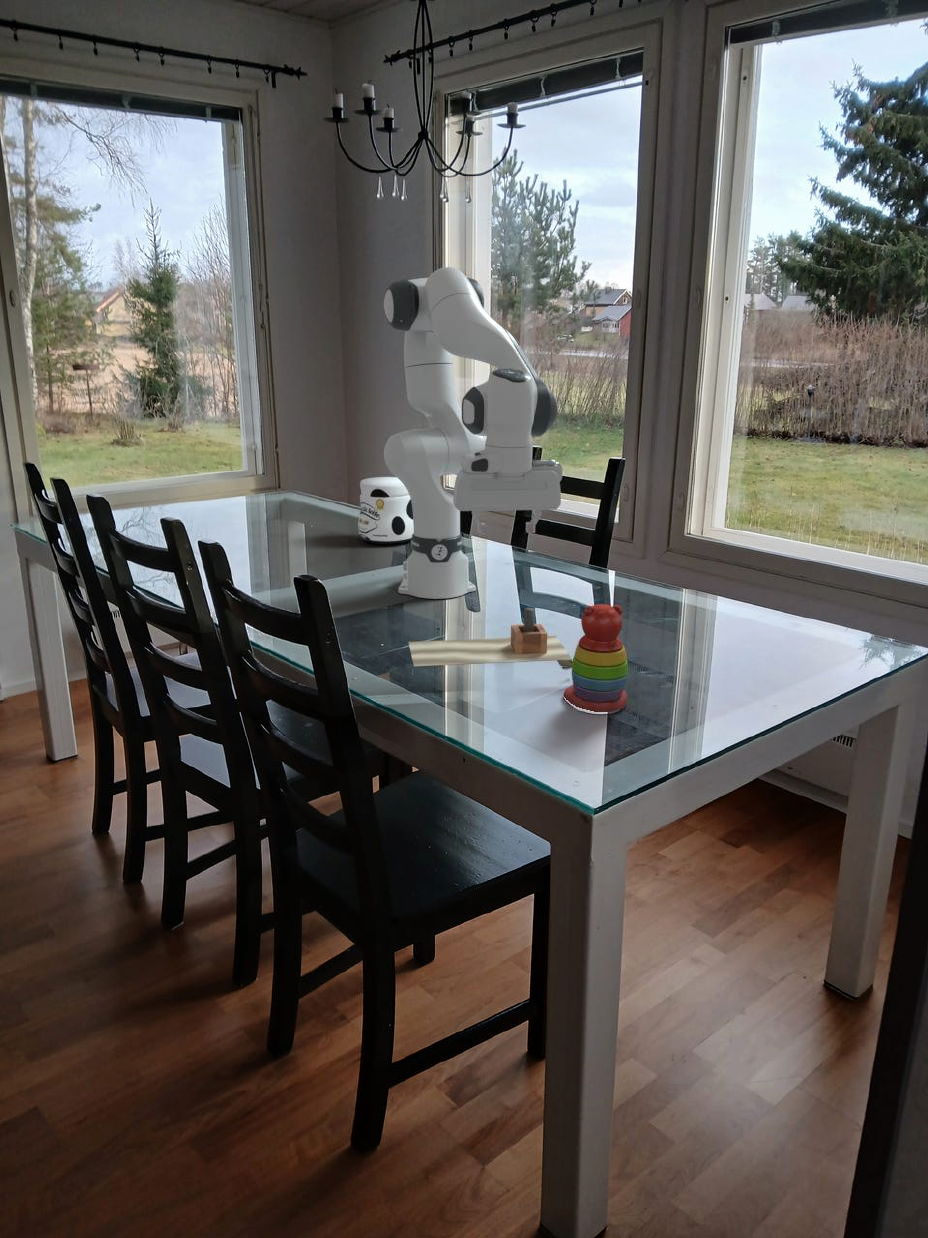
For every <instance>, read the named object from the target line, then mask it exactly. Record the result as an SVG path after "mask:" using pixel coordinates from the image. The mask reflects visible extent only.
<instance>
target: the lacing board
mask: <svg viewBox="0 0 928 1238" xmlns="http://www.w3.org/2000/svg"><path fill="white" fill-rule="evenodd" d="M523 611H524V613H523V619H524V620H523V625H524V632H534V624H535V618H536V617H535V616H536V615H535V614H536V612H535V611H536V609H535V608H533V607H525V608H524V609H523ZM407 643H408V647H409V650H410V651H409V653H410V654H411V655H410V656H411V661H412V664H413V667H429V666H431V667H434V666H456V665H476V664H478V665H479V664H482V665H483V664H497V663H499V664H500V663H501V664H502V663H520V662H521V663H525V662H526V663H527V662H543V661H544V662H548V661H556V662H557V663H558V664H559V667H561V666H572V663H571V662H570V661H573V659H572V658H573V657H572V656H570V654H569V652H568V651H567V650H566V649H565V647H564V645H563V644H562V643H561V641H560V639H559V638H558V637H557V636H556V635H547V653H538V654H516V653H515V651H514V650H513V648H512V646H511V637H499V638H498V637H495V638H494V637H493V638H492V637H491V638H473V639H472V638H471V639H470V638H469V639H451V640H450V639H446V640H426V641H425V640H424V641H420V640H419V641H408V642H407Z"/></svg>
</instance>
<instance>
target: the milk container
mask: <svg viewBox="0 0 928 1238" xmlns="http://www.w3.org/2000/svg"><path fill="white" fill-rule="evenodd" d="M359 494H360V495H359V501H360V512H359V516H358V521H357V528H358V535H359V536H360V538H361V539H362V540H363V541H365V542H368V543H371V544H379V545H393V544H394V545H395V544H400V543H406V542H409V541H410V540H412V534H413V533H414V525H413V509H412V502H411V498H410V495H409V493H408V491H407V489H406V487H405V486H404V484H403V483H402V482H401V481H400V480H399V479H398V478H397V477H396V476H378V477H375V476H374V477H369V478H364V479H361V480H360V482H359Z"/></svg>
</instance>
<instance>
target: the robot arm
mask: <svg viewBox="0 0 928 1238" xmlns="http://www.w3.org/2000/svg"><path fill="white" fill-rule="evenodd" d="M383 308H384V309H383V310H384V313H385V316H386V319H387V322H388V324H389V325H390V326H391V327H392V329H395V330H398V331H404V344H403V361H404V373H405V374H404V375H405V386H406V395H407V396H406V397H407V401H408V403H409V405H410V406H411V407H412V409H414V410H416V411H419V412H420V413H422V414H423V415H424V416H425V418H426V420H427V421H428V423H429V427H430V428H417V429H407V430H403V431H401V432H398V433H395V434H393V435H390V436H389V438H388V440H387V441H386V443H385V444H384V449H383V458H384V459H383V460H384V463H385V466H386V468H387V469H388V472H390V473H391V474H392V475H393V477H397V478H398V479H399V480H400V481H401V482H402V483H403V484H404V486H405V487H406V489H407V491H408V493H409V495H410V498H411V502H412V509H413V525H414V533H413V534H412V539H411V541H410V542H411V549H412V552H411V553H410V555H409V556H408V557H407V558H406V560H404V561H403V571H404V572H405V571H406V572H405V573H404V575H403V579H402V581H401V583H400V585H399V586H398V593H399V594H402V595H409V596H413V597H415V598H422V599H430V600H431V599H432V600H433V599H434V600H437V599H439V600H441V599H452V598H458V597H460V596H463V595H465V594H467V593H470V592H471V593H472V592H475V591H476V590H477V586H476V585H475V584H474V583H472V582H471V581H470V577H469V575H470V574H469V557H468V556H466V554H464V552H463V551H462V549H463V538H462V537H463V536H462V533H461V512H470V511H471V515H472V518H473V519H474V521H475V523H476V524H477V527H476V532H477V534H478V535H484V534H487V530H486V529H487V524H486V522H481V520H480V518H479V517H481V516H482V514H481V513H482V512H483V511H485V512H486V511H532V512H531V513H532V514H533V516H532V518H531V519H530V521H526V522H525V532H526V533H527V534H535V533H536V525H537V524H538V522H539V520H540V519H541V517H542V516H543V515H542V514H543V513H542V512H543V510H544V511H545V510H547V511H548V510H551V511H552V510H553V511H554V510H555V511H556V510H557V509H558V508H559V507H560V506H561V505H562V504H561V503H562V494H561V493H562V491H561V484H560V482H561V481H562V479H563V466H562V465H561V464H560V462H557V461H556V460H555V459H548V460H547V459H546V460H544V459H533V451H534V450H533V449H534V447H533V446H534V443H533V437H537V438H538V437H542V436H543V435H544V434H546V433H547V432H548V431H549V430H550V429H551V428H552V426H553V425H554V424H555V422H556V419H557V417H558V403H557V400H556V397H555V395H554V393H553V392H552V390H551V389H550V387H548V385H547V384H546V383H545V382H544V381H543V380H542V379H541V378H540V377H539V376H538V374H537V372H536V371H535V369H534V368H533V366H532V364H531V363H530V361H529V360H528V358H527V356H526V355H525V353H524V352H523V350H522V349H521V347H520V345H519V344H518V342H517V341H516V339H515V338H514V336H513V335H512V333H510V331H509V330H507V329H506V328H504V327H502V325H500V324H498V323H497V321H495V320H494V319H493V318H492V317H491V316H490V315H489V314H488V313H487V312H486V310H485V298H484V292H483V288H482V286H481V285H480V283H479V282H478V280H476V279H473V278H470V277H467V276H466V275H465V274H464V273H463V272H462V271H461V270H459V268H456V267H451V266H446V267H440V268H438V269H436V270H434V271H433V272H432V273H431V274H430V275H429V276H428V277H422V278H413V279H409V280H407V279H406V278H405V279H400V280H396V281H393V282H391V283H390V284H389V285H388V287H387V288H386V290H385V294H384V299H383ZM453 356H455V357H459V358H463V359H465V358H466V359H468V360H474V361H478V362H482V363H486V364H489V365H491V366H493V367H495V368H497V369H494V370H493V371H491V372H490V373H489V376H488V379H487V380H486V381H485V382H484V383H481V384H479V385H477V386H472V387H471V388H470V389H469V390H468V391H467V392H466V393H465V394H464V396H463V397H462V400H461V405H460V404H459V400H458V397H457V396H458V395H457V390H456V383H455V382H456V381H455V374H454V365H453V364H454V363H453ZM485 437H486V439H485ZM450 475H451V476H452V475H456V477H455V481H454V482H455V483H454V486H453V487H454V488H453V494H452V493H450V492H448V491H446V490H444V488H443V487H442V483H441V476H450Z"/></svg>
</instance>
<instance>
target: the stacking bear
mask: <svg viewBox="0 0 928 1238" xmlns="http://www.w3.org/2000/svg"><path fill="white" fill-rule="evenodd" d="M623 611H624V610H623V607H622V606H620V605H619V604H615V605H613V606H612V605H609V604H605V603H603V604H602V603H600V604H599V603H598V604H594V605H592V606H591V605H587V606H586V607H585V608H584V610H583V614H582V616H581V618H580V619H581V620H580V621H581V623H580V624H581V628H582V632H583V634H584V635H582V636H581V637H580V639H578V644H577V645H576V648H575V651H574V655H573V657H572V658H573V659H572V667H571V679H572V685H573V686H569V687H567V688H565V689H564V692H563V696H564V697H565V698H566V700H568V701H569V702H570V703H571V704H573V705H575V706H576V707H579V708H582V709H586V710H590V711H594V712H611V711H615V710H618V709H620V708H623V707H624V706H625V705H626V706H627V704H628V695H627V692H626V691H625V690H624V688H625V686H626V683H627V681H628V674H629V673H628V672H629V665H628V663H629V662H628V660H627V658H628V657H627V652H626V648H625V646H624V645H623V641H622V640H621V639H620V637H619V635H620V633H621V631H622V629H623V628H622V627H623V618H622V617H623V616H622V614H623ZM564 697H563V698H564ZM626 703H627V704H626ZM626 706H625V707H626ZM625 707H624V708H625ZM624 708H623V709H624Z"/></svg>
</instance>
